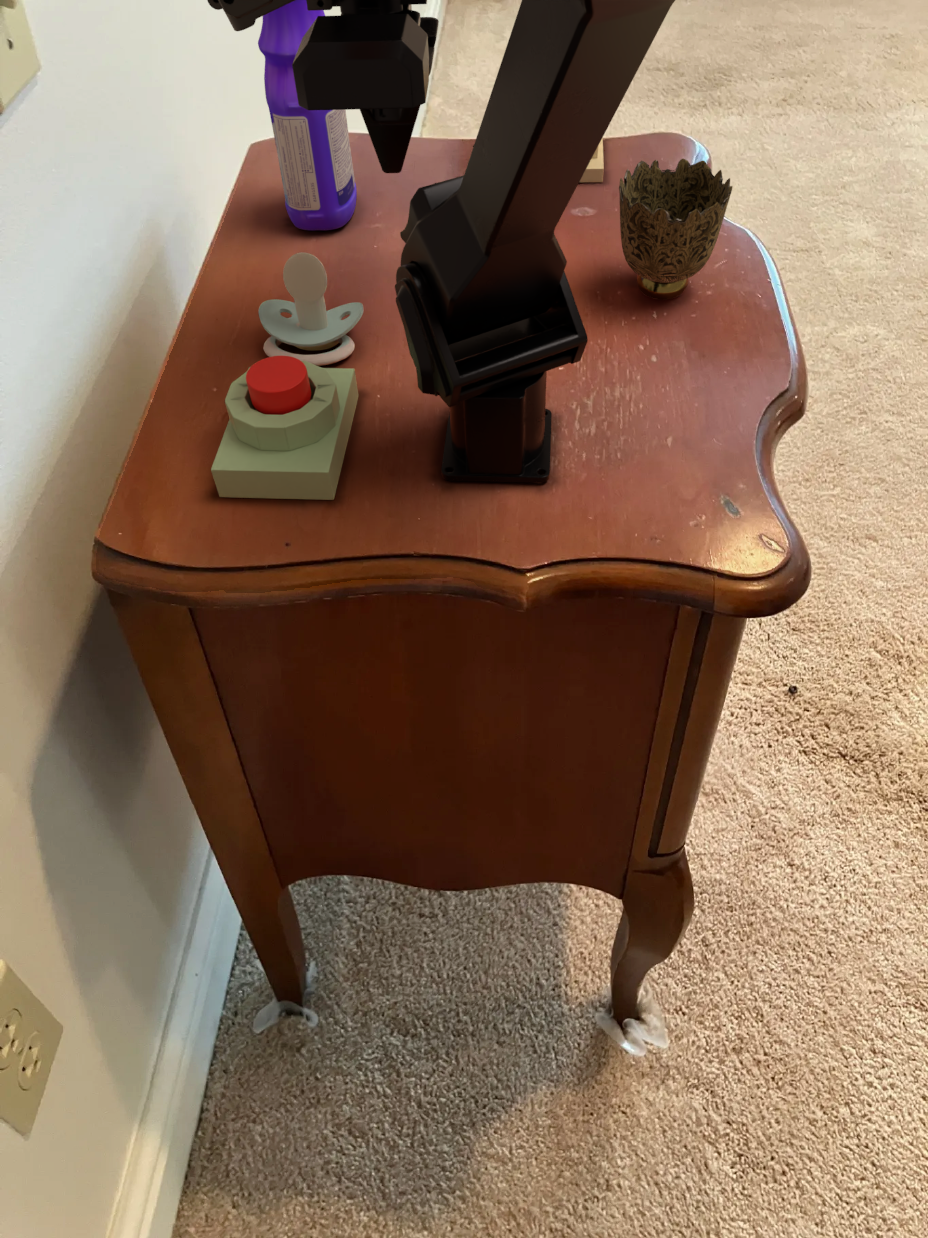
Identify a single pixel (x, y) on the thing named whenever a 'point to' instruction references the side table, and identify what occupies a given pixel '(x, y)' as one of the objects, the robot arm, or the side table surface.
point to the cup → (670, 223)
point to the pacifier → (308, 315)
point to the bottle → (305, 130)
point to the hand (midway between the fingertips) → (392, 170)
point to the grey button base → (287, 441)
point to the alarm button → (278, 385)
